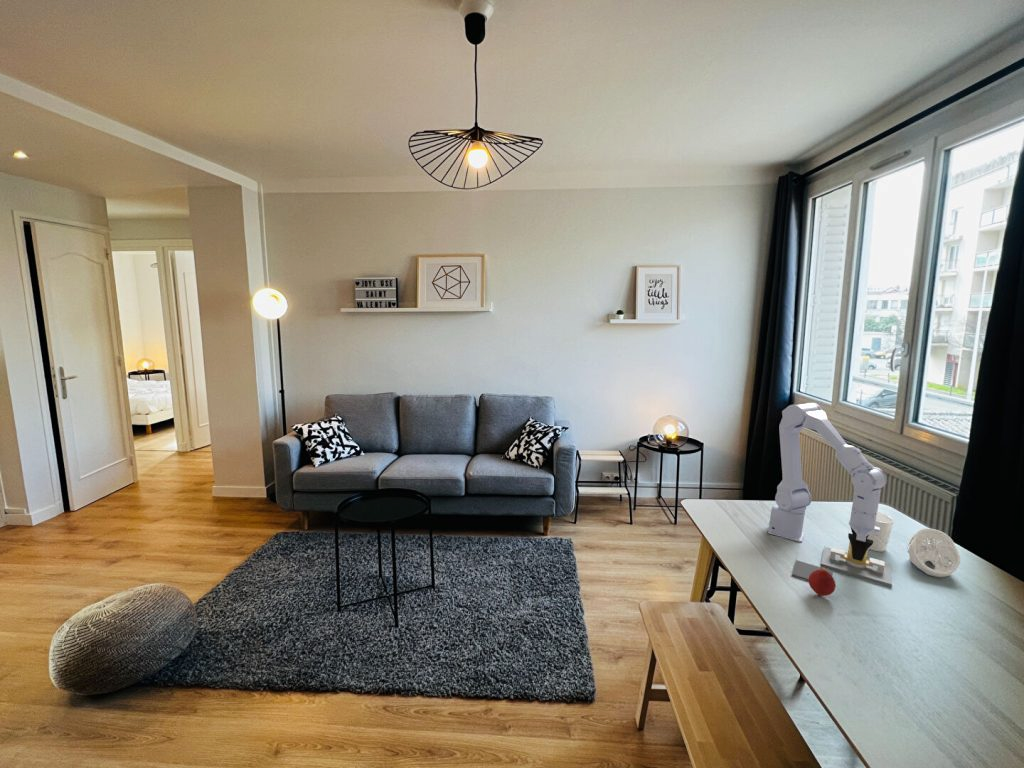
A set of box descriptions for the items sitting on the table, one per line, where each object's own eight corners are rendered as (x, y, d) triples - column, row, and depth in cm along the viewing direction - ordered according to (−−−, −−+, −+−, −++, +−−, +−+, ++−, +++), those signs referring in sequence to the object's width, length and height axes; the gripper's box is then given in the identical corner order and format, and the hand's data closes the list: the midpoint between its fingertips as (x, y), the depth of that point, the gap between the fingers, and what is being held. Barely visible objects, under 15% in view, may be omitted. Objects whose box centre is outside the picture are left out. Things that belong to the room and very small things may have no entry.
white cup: (877, 540, 149) (882, 511, 147) (894, 553, 141) (900, 523, 139) (851, 538, 150) (855, 510, 148) (867, 552, 142) (872, 521, 140)
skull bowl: (943, 552, 140) (957, 530, 132) (950, 596, 131) (966, 575, 123) (898, 542, 145) (909, 521, 137) (903, 584, 136) (915, 563, 128)
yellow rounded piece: (839, 559, 134) (843, 538, 133) (840, 553, 138) (843, 532, 136) (872, 569, 130) (876, 546, 128) (872, 562, 133) (876, 540, 132)
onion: (829, 591, 123) (833, 564, 121) (836, 604, 117) (840, 576, 116) (804, 586, 124) (808, 559, 123) (810, 599, 119) (814, 571, 118)
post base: (820, 566, 134) (822, 555, 133) (823, 549, 143) (825, 538, 143) (891, 587, 124) (893, 575, 124) (889, 567, 134) (891, 556, 133)
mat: (792, 576, 129) (792, 574, 129) (796, 561, 136) (796, 559, 136) (830, 588, 124) (830, 586, 124) (832, 572, 131) (833, 570, 131)
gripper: (882, 523, 123) (875, 570, 125) (881, 504, 134) (874, 547, 136) (850, 516, 127) (843, 561, 129) (851, 498, 138) (845, 540, 141)
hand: (857, 553), depth 133 cm, fingers open, 7 cm apart
